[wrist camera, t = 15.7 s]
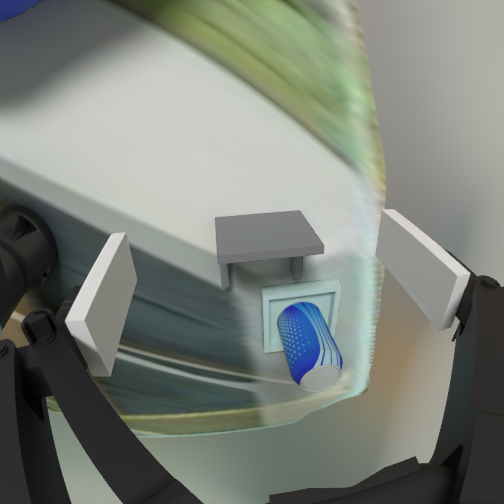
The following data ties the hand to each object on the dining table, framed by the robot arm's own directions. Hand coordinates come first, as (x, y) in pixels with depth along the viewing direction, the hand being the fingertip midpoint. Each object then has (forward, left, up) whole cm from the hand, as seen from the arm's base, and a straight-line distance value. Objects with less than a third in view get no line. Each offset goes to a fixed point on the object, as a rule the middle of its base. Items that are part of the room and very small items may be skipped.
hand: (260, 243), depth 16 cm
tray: (+11, -32, -32) cm, 46 cm away
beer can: (+11, -32, -31) cm, 46 cm away
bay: (+4, -17, -32) cm, 36 cm away
